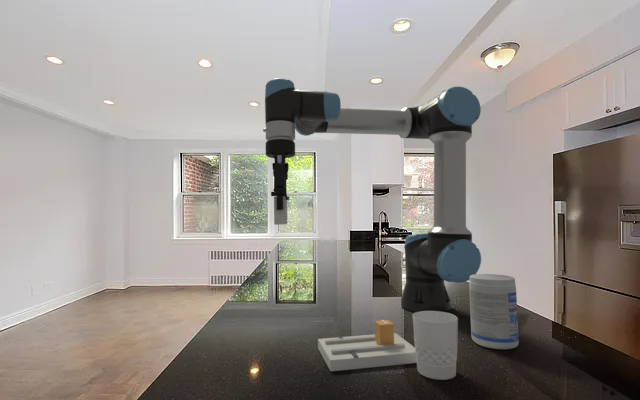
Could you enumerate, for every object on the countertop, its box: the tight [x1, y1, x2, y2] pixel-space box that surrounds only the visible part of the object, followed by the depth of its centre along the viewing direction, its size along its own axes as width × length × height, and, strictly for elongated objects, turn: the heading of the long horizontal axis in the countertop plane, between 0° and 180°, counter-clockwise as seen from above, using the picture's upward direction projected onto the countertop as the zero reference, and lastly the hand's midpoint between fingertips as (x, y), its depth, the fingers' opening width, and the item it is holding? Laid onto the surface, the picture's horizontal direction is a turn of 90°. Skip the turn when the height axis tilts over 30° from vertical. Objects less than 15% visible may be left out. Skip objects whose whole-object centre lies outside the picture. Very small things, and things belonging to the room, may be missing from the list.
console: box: [317, 332, 417, 372], centre depth 72 cm, size 18×12×3 cm, turn 102°
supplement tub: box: [468, 273, 520, 350], centre depth 79 cm, size 10×10×15 cm
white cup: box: [412, 311, 459, 381], centre depth 64 cm, size 8×8×10 cm
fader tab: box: [374, 319, 395, 345], centre depth 73 cm, size 3×3×4 cm
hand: (281, 224), depth 88 cm, fingers open, 13 cm apart
